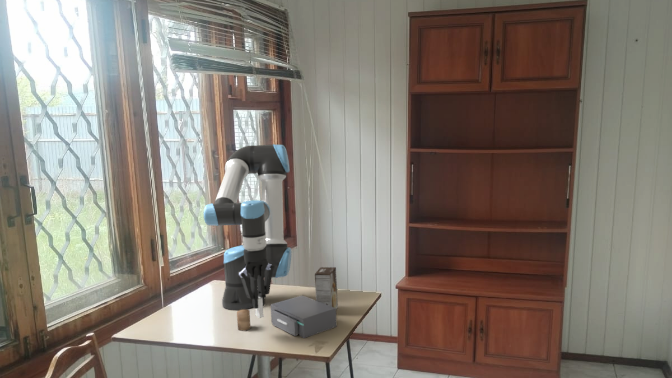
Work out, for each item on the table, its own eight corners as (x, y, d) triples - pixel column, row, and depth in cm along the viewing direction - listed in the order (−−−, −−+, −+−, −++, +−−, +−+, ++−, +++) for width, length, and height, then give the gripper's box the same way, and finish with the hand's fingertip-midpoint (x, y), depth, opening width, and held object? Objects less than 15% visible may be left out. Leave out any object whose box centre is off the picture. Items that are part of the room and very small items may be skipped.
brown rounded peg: (235, 328, 174) (234, 311, 173) (246, 324, 176) (245, 308, 176) (241, 331, 170) (240, 314, 170) (252, 328, 173) (251, 311, 172)
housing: (271, 322, 178) (270, 304, 177) (303, 312, 187) (302, 295, 186) (303, 338, 162) (302, 319, 162) (336, 326, 171) (336, 308, 171)
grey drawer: (271, 324, 174) (270, 311, 174) (302, 315, 183) (302, 302, 182) (293, 336, 164) (293, 322, 163) (326, 325, 172) (325, 311, 172)
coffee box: (321, 307, 192) (320, 266, 190) (338, 307, 190) (336, 267, 189) (316, 315, 183) (314, 273, 181) (333, 316, 181) (331, 273, 180)
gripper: (243, 254, 155) (248, 325, 158) (278, 246, 163) (282, 313, 166) (231, 249, 160) (236, 318, 164) (265, 242, 169) (270, 308, 172)
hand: (259, 316), depth 165 cm, fingers closed
